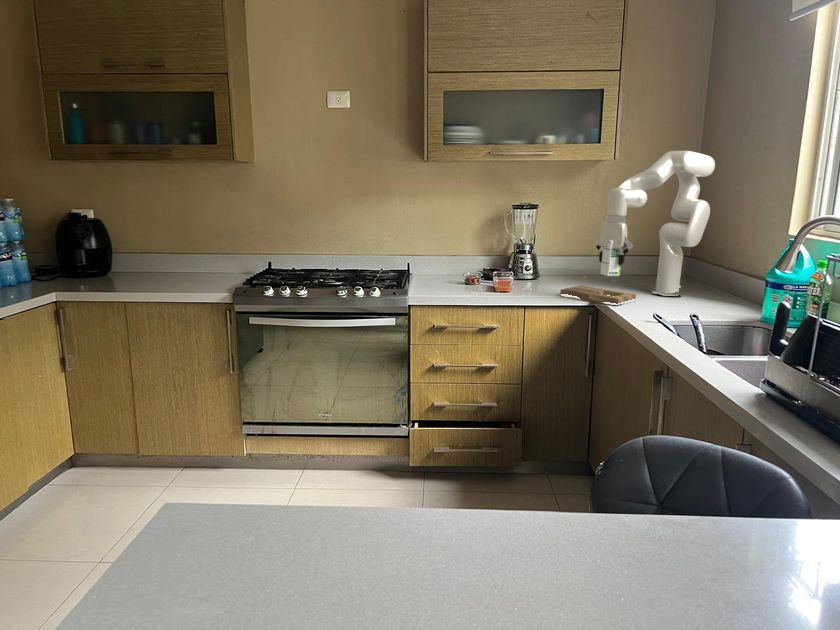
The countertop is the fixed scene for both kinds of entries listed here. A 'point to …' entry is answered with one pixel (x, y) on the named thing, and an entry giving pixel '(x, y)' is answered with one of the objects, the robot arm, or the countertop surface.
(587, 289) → the board
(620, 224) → the robot arm
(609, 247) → the syrup box
